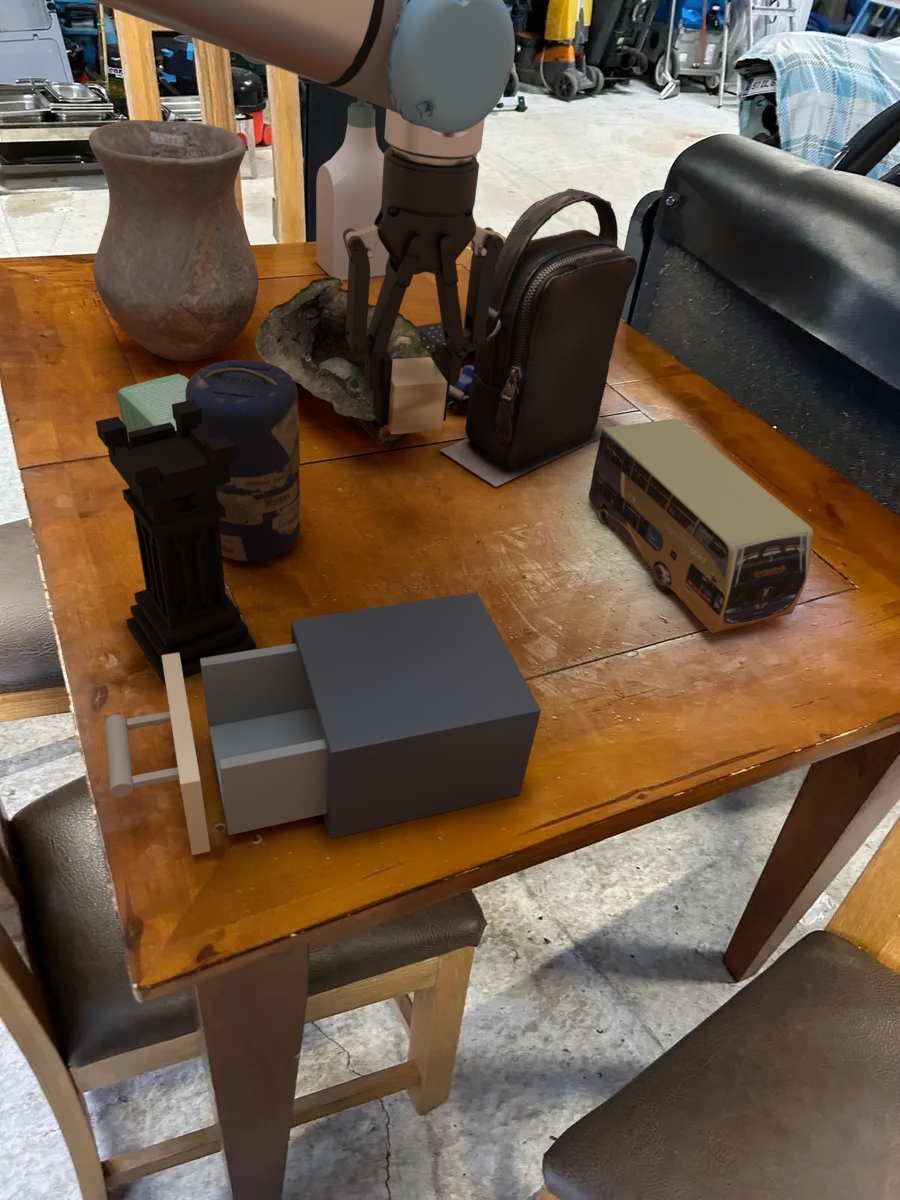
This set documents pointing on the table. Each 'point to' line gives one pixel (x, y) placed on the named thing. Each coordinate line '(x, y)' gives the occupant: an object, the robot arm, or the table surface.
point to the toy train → (461, 390)
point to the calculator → (434, 336)
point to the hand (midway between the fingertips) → (409, 415)
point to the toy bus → (701, 523)
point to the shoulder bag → (545, 343)
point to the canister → (254, 454)
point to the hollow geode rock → (331, 351)
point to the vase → (174, 237)
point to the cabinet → (415, 710)
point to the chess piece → (178, 537)
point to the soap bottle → (350, 194)
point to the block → (416, 396)
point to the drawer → (237, 742)
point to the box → (151, 402)
